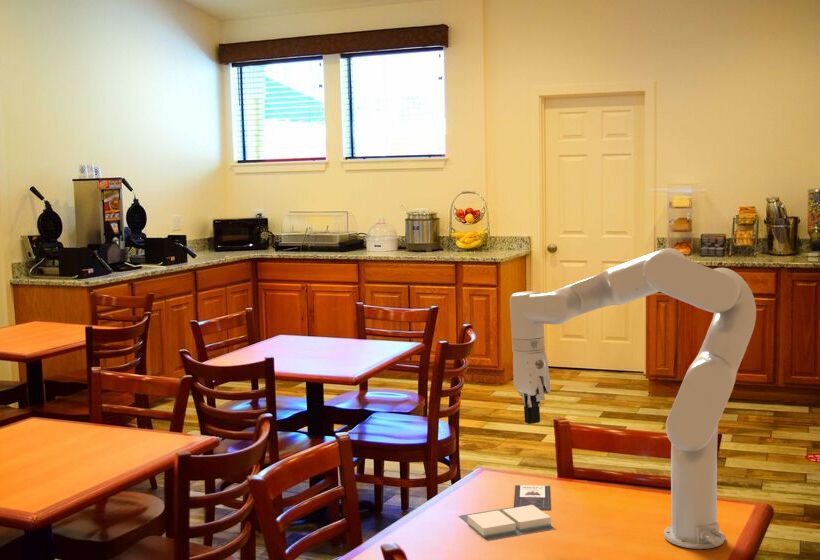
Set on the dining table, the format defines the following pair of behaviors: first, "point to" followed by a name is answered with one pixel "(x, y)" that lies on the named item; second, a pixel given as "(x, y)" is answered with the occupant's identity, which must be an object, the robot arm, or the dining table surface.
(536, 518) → the tile
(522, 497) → the chocolate bar
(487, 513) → the tile
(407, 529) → the dining table surface
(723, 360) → the robot arm
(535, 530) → the mat
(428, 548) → the dining table surface
